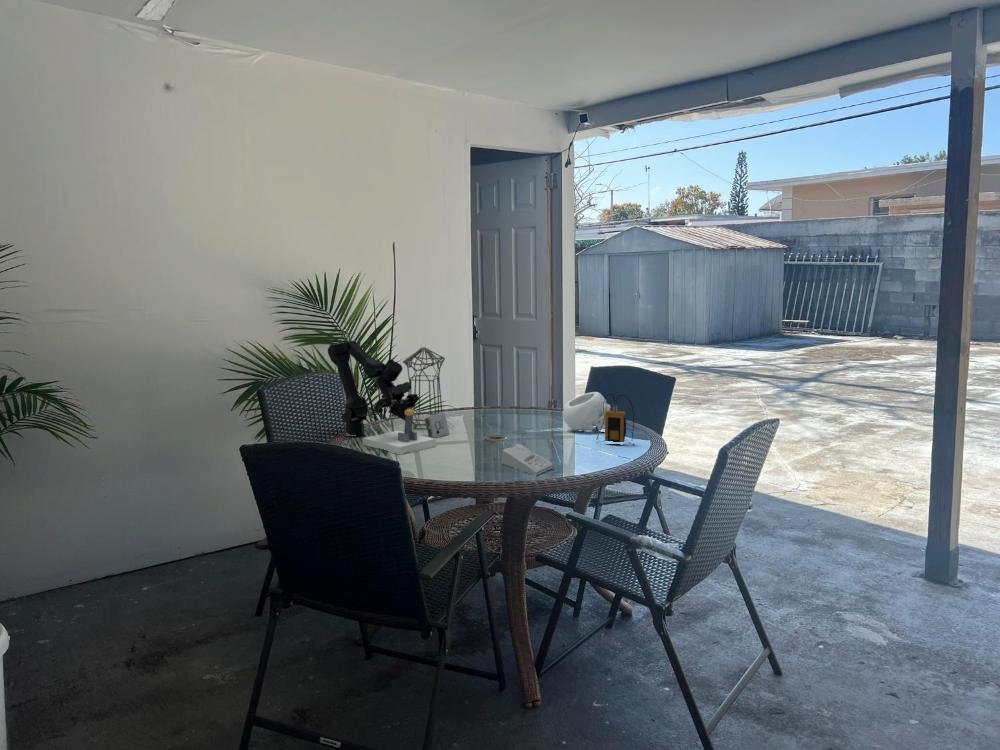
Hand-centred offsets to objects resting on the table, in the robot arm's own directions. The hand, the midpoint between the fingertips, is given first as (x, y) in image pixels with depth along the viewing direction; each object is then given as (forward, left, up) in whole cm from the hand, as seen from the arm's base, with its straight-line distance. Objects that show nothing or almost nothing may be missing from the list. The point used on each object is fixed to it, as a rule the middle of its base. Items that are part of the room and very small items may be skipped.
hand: (407, 420), depth 287 cm
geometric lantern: (-6, +37, -11) cm, 39 cm away
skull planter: (+64, +46, -11) cm, 80 cm away
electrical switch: (+4, +23, -11) cm, 26 cm away
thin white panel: (-4, +2, -11) cm, 12 cm away
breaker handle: (0, 0, -7) cm, 7 cm away
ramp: (+49, -15, -11) cm, 53 cm away
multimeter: (+77, +27, -11) cm, 82 cm away
